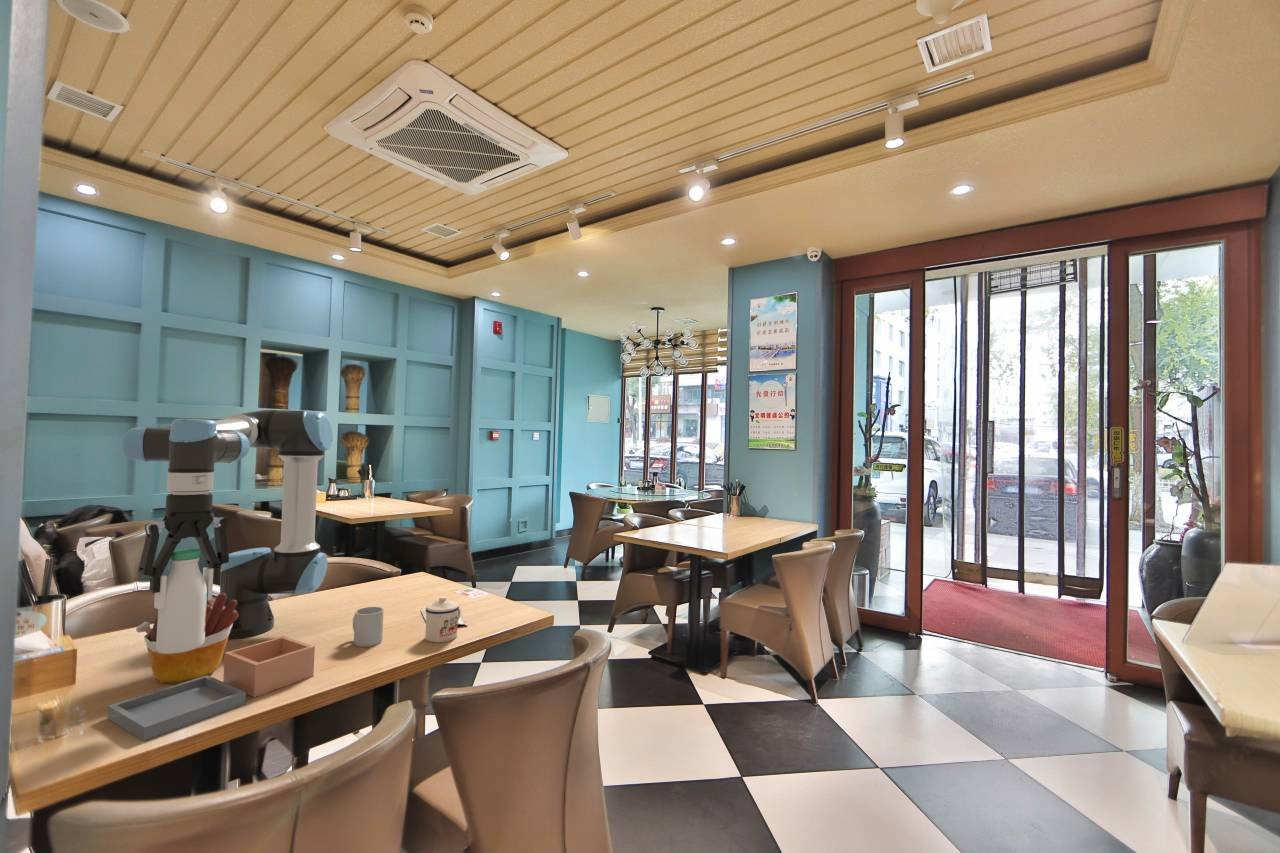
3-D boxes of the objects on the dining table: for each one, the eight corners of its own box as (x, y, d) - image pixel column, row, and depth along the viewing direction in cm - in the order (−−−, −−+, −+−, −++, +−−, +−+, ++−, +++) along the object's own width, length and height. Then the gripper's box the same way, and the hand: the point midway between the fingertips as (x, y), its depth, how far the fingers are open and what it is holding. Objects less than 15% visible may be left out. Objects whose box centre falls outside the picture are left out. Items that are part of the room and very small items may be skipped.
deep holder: (223, 683, 126) (224, 652, 126) (282, 664, 137) (283, 636, 137) (254, 697, 119) (255, 665, 120) (313, 676, 131) (314, 646, 131)
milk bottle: (202, 650, 112) (208, 552, 112) (152, 657, 107) (158, 555, 108) (206, 638, 118) (211, 545, 119) (159, 645, 114) (164, 548, 115)
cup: (364, 649, 148) (366, 616, 148) (341, 642, 153) (342, 610, 153) (388, 641, 155) (389, 609, 155) (364, 634, 159) (366, 603, 159)
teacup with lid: (442, 645, 153) (443, 603, 153) (417, 640, 156) (418, 598, 156) (470, 632, 164) (472, 593, 164) (447, 627, 167) (448, 589, 167)
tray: (107, 718, 109) (108, 705, 109) (207, 686, 124) (207, 675, 124) (143, 741, 102) (144, 727, 102) (245, 703, 117) (245, 692, 117)
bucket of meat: (119, 682, 125) (124, 594, 125) (195, 655, 141) (199, 577, 141) (182, 696, 119) (187, 604, 120) (254, 666, 135) (258, 585, 136)
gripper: (135, 497, 103) (128, 619, 103) (253, 490, 121) (247, 595, 120) (118, 494, 107) (111, 612, 106) (235, 488, 125) (229, 590, 124)
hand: (183, 603), depth 113 cm, fingers closed on milk bottle, 7 cm apart
